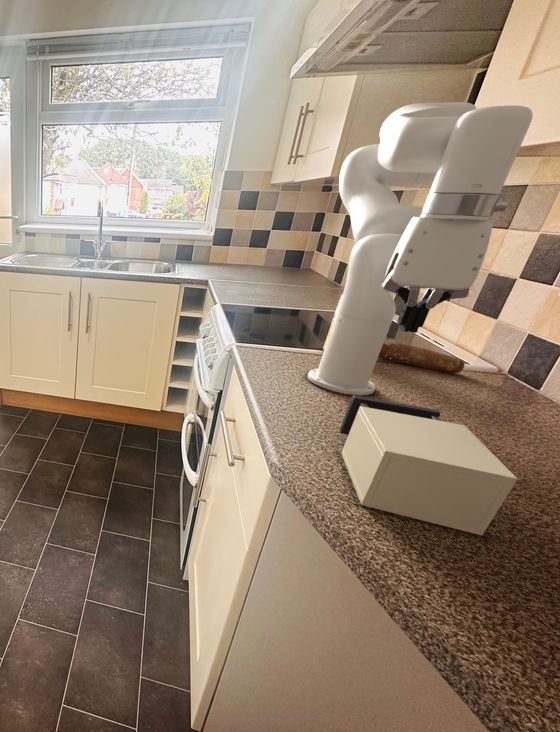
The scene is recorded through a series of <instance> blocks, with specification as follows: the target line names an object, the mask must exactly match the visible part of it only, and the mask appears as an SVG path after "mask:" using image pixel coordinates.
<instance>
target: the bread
mask: <svg viewBox="0 0 560 732" xmlns="http://www.w3.org/2000/svg"><path fill="white" fill-rule="evenodd" d="M378 358H379V359H382V360H386V361H391V362H395V363H401V364H406V365H411V366H415V367H419V368H423V369H429V370H434V371H440V372H445V373H450V374H451V373H452V374H457V373H461V372H462V371H463V370H464V368H465V361H464V360H462V359H461V358H457V357H455V356H451V355H447V354H444V353H441V352H437V351H434V350H431V349H428V348H427V349H426V348H425V347H421V346H418V345H414V344H411V343H407V342H404V341H400V340H397V339H393V338H391V337H390V338H389V337H386V338H385V341H384V343H383V346H382V348H381V351H380V353H379V356H378ZM390 358H391V359H390Z"/></svg>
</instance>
